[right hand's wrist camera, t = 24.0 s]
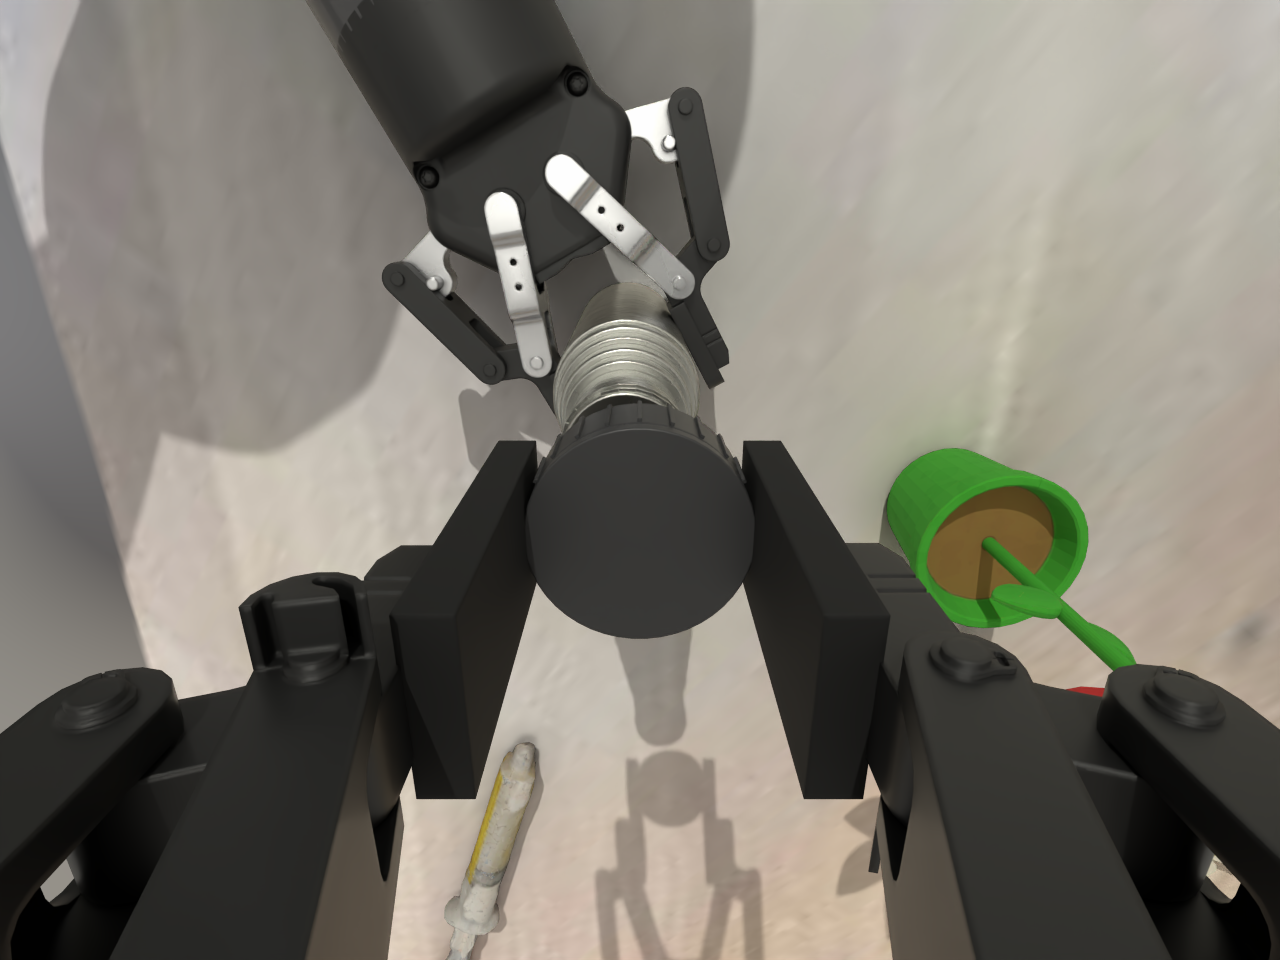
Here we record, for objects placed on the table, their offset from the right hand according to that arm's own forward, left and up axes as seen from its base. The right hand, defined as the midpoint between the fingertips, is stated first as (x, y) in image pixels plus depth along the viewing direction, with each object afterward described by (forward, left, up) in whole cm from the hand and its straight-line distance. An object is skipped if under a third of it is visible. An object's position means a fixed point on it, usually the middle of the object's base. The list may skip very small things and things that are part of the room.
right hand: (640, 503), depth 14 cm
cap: (0, 0, +1) cm, 1 cm away
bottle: (0, 0, -22) cm, 22 cm away
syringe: (-30, +24, -22) cm, 44 cm away
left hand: (-2, 0, -15) cm, 16 cm away
